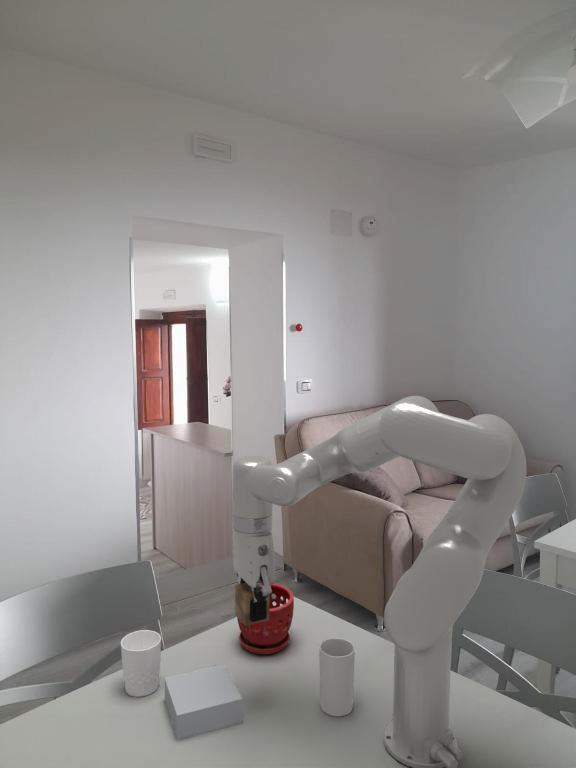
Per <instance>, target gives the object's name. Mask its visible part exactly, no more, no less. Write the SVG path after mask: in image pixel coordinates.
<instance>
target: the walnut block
mask: <svg viewBox="0 0 576 768" xmlns="http://www.w3.org/2000/svg"><path fill="white" fill-rule="evenodd" d="M258 583H261V581H258V582H256V584H258ZM261 590H262V587H260V588H256V594H257V593H258V592H259V591H261ZM269 598H270V595H269V596H268V600H267V616H266V619H263V620H259V621H255V622H251V621H250V601H252V594H251V586H250V585H248V584H247V583H242V584H237V583H236V584H235V586H234V615H235V616H236V618H237V617H238V618H239V619H240V621H241V622H242V623H243V624H244V625H245V626H248V625H252V624H256V623H260V622H264V621H268V620H269Z"/></svg>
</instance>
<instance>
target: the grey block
mask: <svg viewBox="0 0 576 768" xmlns="http://www.w3.org/2000/svg"><path fill="white" fill-rule="evenodd" d="M163 680H164V702H165V705H166V707H167V708H166V709H167V711H168V714H169V716H170V720H171V723H172V726H173V731H174V733H175V735H176V736H175V737H176V739H177V741H179V740H180V741H181V740H183V739H187V738H190V737H194V736H198V735H202V734H206V733H209V732H212V731H216V730H221V729H224V728H228V727H231V726H235V725H239V724H242V723H243V697H242V695H241V694H240V692H239V690H238V688H237V686H236V684H235V683H234V681H233V679H232V677H231V675H230V672H229V671H228V669H227V667H226V666H225V664H224V663H223V664H218V665H215V666H210V667H205V668H200V669H195V670H191V671H187V672H184V673H179V674H175V675H170V676H166V677H164V679H163Z"/></svg>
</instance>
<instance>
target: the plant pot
mask: <svg viewBox="0 0 576 768" xmlns="http://www.w3.org/2000/svg"><path fill="white" fill-rule="evenodd" d="M270 586H271V589H272V593H271V594H270V598H269V620H268V621H264V622H260V623H256V624H252V625H248V626H245V625H244V624H243V623H242V622H241V621H240V619H239V618H238V617H237V616H236V618H237V619H236V620H237V624H238V627H239V630H240V633H239V634H238V635H239V636H238V638H239V642H240V644H241V645H242V647H243V648H244V649H245V650H247V651H249V652H250V653H254V654H258V655H270V654H275V653H277V652H280V651H282V650H283V649H285V647H287V645H288V644H289V642H290V633H289V631H290V629H291V625H292V621H293V617H294V611H295V610H294V608H295V607H294V606H295V605H294V603H295V602H294V601H295V599H294V593H293V592H292V590H290V589H289V588H288V587H286V586H284V585H281V584H278V583H274V584H270ZM272 595H275V598H274V597H273V596H272ZM281 597H282V598H281ZM273 603H275V605H274V604H273Z"/></svg>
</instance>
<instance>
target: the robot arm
mask: <svg viewBox="0 0 576 768" xmlns="http://www.w3.org/2000/svg"><path fill="white" fill-rule="evenodd" d="M525 453H526V452H525V450H524V447H523V444H522V442H521V440H520V439H519V437H518V435H517V433H516V432H515V430H514V428H513V427H512V426H511V425H510V424H509V423H508V422H507V421H506V420H505V419H503V418H502V417H500V416H498V415H496V414H490V413H484V414H483V413H482V414H478V415H475V416H473V417H471V418H469V419H463V418H460V417H456V416H453V415H449V414H445V413H442V412H440V411H439V409H438V407H436V405H435V404H434V402H432V401H431V400H430V399H429V398H427V397H424V396H420V395H410V396H407V397H403V398H402V399H399V400H397V401H396V402H394V403H391V404H389V405H387V406H385V407H384V408H381V409H379V410H378V411H376V412H374V413H371V414H370V415H367V416H366V417H363V418H362V419H360V420H358V421H356V422H354V423H351V424H350V425H347V426H345V427H344V428H341V429H340V430H339V431H338V432H337V433H336V434H335V435H333V436H331V437H330V438H327V439H325V440H324V441H322V442H319V443H317V444H316V445H313V446H311V447H309V448H308V449H306V450H304V451H302V452H300V453H297V454H295V455H293V456H292V457H290V458H287V459H286V460H284V461H282V462H279V463H275V464H273V463H272V460H270V459H269V458H267V457H265V456H258V455H246V456H241V457H239V458H237V459H236V460H235V461H234V463H233V465H232V531H233V533H234V535H233V545H232V546H233V550H232V551H233V552H232V554H233V555H232V561H233V562H232V563H233V565H232V566H233V570H234V571H235V573H236V576H237V582H236V585H237V584H242V583H247V584H248V585H250V586H251V594H252V601H250V621H251V622H255V621H259V620H263V619H266V616H267V600H268V596H269V595H270V594H271V593H272V589H271V586H270V584H275V583H276V582H275V581H276V559H275V557H276V556H275V547H274V538H273V534H272V531H273V505H276V506H279V507H289V506H293V505H295V504H296V503H298V502H299V501H300V500H302V499H303V498H305V497H306V496H307V495H309V494H310V493H312V492H313V491H315V490H316V489H318V488H320V487H322V486H324V485H326V484H328V483H330V482H332V481H334V480H337V479H340V478H342V477H344V476H346V475H349V474H352V473H356V474H357V473H358V474H364V473H368V472H370V471H372V470H374V469H376V468H378V467H380V466H383V465H385V464H387V463H389V462H391V461H393V460H395V459H397V458H400V457H402V458H404V459H407V460H409V461H412V462H415V463H418V464H420V465H424V466H427V467H430V468H432V469H437V470H440V471H442V472H446V473H449V474H452V475H455V476H458V477H462V478H464V479H467V480H466V481H465V483H464V485H463V486H462V488H461V489H460V491H459V493H458V495H457V497H456V498H455V500H454V502H453V503H452V505H451V506H450V508H449V509H448V510H447V512H446V514H445V515H444V517H443V518H442V519H441V521H440V522H439V523H438V524H437V526H436V527H435V528H434V529H433V530H432V531H431V533H430V534H429V535H428V537H427V540H426V541H425V543H424V544H423V546H422V548H421V550H420V552H419V554H418V556H417V557H416V559H415V561H414V562H413V564H412V565H411V567H410V568H409V569H407V570H406V571H405V572H404V573H403V574H402V575H401V577H400V578H399V580H398V582H397V584H396V585H395V586H394V589H393V591H392V593H391V595H390V597H389V599H388V602H387V603H386V605H385V608H384V611H383V612H384V613H383V624H384V628H385V631H386V634H387V636H388V637H389V639H390V641H391V642H392V643H393V644H394V650H393V651H394V656H393V691H392V693H393V694H392V695H393V697H392V698H393V699H392V701H393V702H392V719H391V720H390V721H389V722H388V723H387V724H386V725H385V728H384V730H383V742H384V743H383V744H384V747H385V748H386V750H387V753H389V754H390V756H392V757H393V758H394V759H395V760H397V761H398V762H399V763H402V764H403V765H405V766H407V767H409V768H458V766H459V760H461V759H462V758H463V755H464V753H463V751H461V750H460V748H458V746H459V745H458V740H457V738H456V735H455V734H454V731H453V730H452V729H451V728H450V726H449V725H450V695H451V691H450V690H451V688H450V687H451V665H452V640H453V627H454V624H455V623H456V621H457V619H458V618H459V616H460V615H461V614H462V613H463V611H464V610H465V608H466V607H467V605H468V604H469V602H470V601H471V600H472V598H473V597H474V595H475V593H476V592H477V590H478V587H479V586H480V584H481V581H482V578H483V575H484V571H485V565H486V562H487V558H488V555H489V553H490V551H491V549H492V547H493V546H494V544H495V543H496V541H497V539H498V538H499V536H500V535H501V533H502V532H503V531H504V529H505V527H506V525H507V524H508V522H509V520H510V519H511V517H512V516H513V514H514V513H515V510H516V509H517V507H518V505H519V503H520V501H521V499H522V496H523V493H524V490H525V485H526V480H527V460H526V459H527V458H526V454H525ZM258 581H260V582H261V583H258V584H256V582H258ZM260 587H262V590H261V591H259V592H258V593H257V594H256V588H260Z"/></svg>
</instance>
